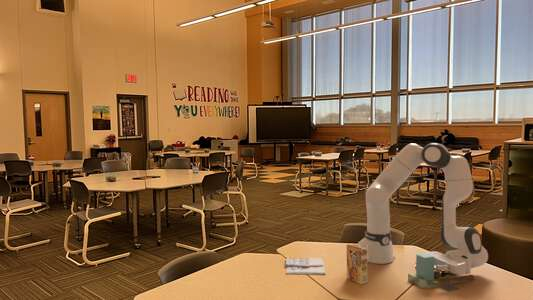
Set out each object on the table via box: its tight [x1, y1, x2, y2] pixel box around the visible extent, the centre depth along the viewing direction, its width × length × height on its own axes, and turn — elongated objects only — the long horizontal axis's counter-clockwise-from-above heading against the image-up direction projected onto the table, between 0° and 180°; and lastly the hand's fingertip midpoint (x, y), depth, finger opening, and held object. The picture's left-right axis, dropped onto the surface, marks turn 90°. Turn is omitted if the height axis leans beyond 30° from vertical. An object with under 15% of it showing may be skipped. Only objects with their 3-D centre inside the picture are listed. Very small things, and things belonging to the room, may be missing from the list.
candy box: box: [346, 243, 368, 285], centre depth 178 cm, size 9×4×15 cm, turn 33°
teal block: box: [415, 252, 435, 282], centre depth 175 cm, size 5×5×12 cm
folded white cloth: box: [285, 257, 326, 276], centre depth 197 cm, size 19×20×2 cm
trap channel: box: [407, 271, 475, 292], centre depth 178 cm, size 21×26×3 cm
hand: (429, 264), depth 175 cm, fingers open, 8 cm apart
